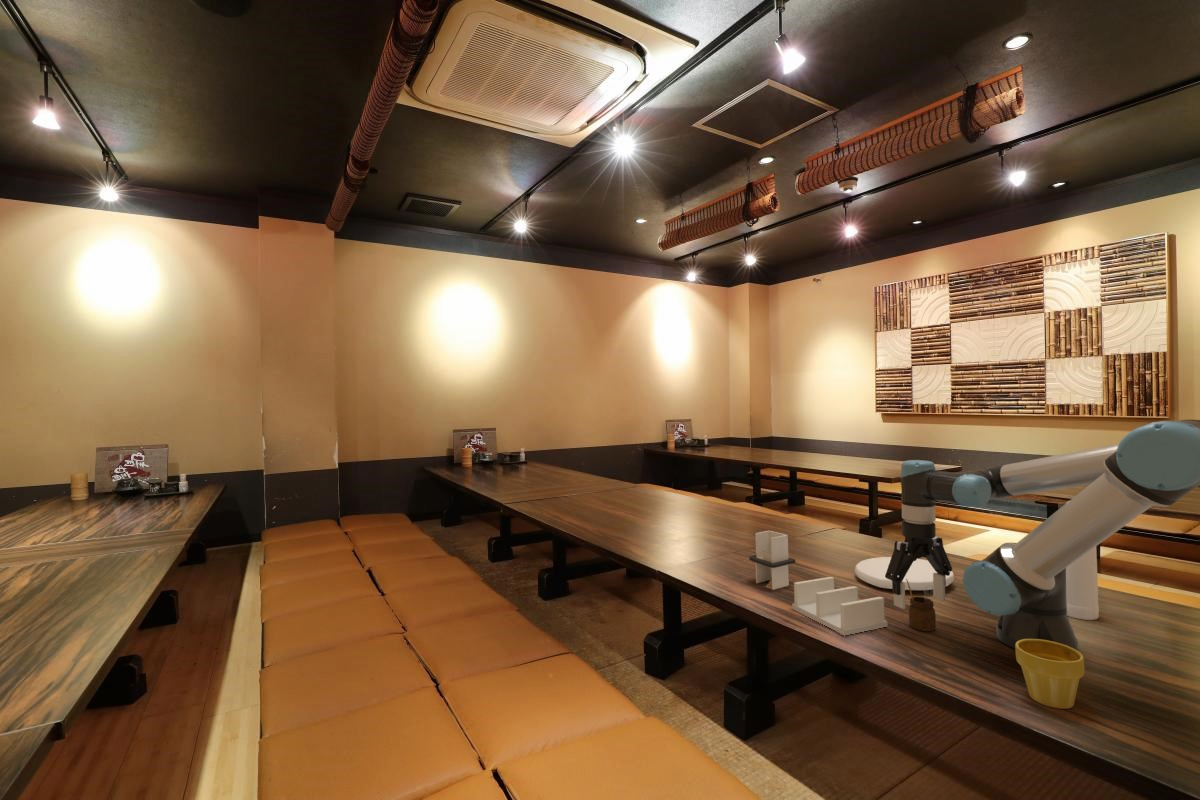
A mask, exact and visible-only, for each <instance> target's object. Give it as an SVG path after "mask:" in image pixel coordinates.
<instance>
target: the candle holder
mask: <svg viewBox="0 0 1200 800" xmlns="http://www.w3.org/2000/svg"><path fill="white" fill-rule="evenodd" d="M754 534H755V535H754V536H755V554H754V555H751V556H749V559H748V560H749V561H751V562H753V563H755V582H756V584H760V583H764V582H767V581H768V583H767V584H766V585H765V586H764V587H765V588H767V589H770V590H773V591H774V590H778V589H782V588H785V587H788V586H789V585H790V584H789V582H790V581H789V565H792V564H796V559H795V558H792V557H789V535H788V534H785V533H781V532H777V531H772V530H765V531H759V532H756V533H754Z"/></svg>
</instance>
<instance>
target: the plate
mask: <svg viewBox="0 0 1200 800" xmlns="http://www.w3.org/2000/svg"><path fill="white" fill-rule="evenodd" d="M891 557H892V556H880V557H872V558H867V559H863V560H861V561H859V562H858V563H857V564H856V565H855V567H854V574H855V575H856V577H857V578H858V579H860V580H862V581H863V582H865V583H867V584H870V585H872V586H875V587H878V588H883V589H890V590H892V580H889V579H887V578H885V575H886V572H887V569H888V566H889V563H890V560H891ZM948 572H950V571H948ZM933 573H937V572H936V571H935V570H934V568H933V567H932V566H931V564H930V563H929V561H928V560H927V559H922V558H917V559H916V561H913V563H912V565H911V566H910V568H909V570H908V572H907V574H906V575H905V577H904V579H903V581H902V582H904V583H905V591H909V587H908V584H907V580H908V583H909V586H910V589H911V591H928V590H930V591H932V590H933ZM891 575H892V574H891ZM898 577H899V576H898ZM906 579H907V580H906ZM954 579H955V576H954V572H953V570H952V571H951V572H950V575H949V576H947V575H946V580H945V581H946V585H945V587H948V586H949V585H951V584H952V583H953V582H954ZM927 585H928V586H930V585H931V586H930V587H928V586H927ZM925 588H926V589H925ZM924 589H925V590H924Z"/></svg>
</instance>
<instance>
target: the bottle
mask: <svg viewBox="0 0 1200 800" xmlns="http://www.w3.org/2000/svg"><path fill="white" fill-rule="evenodd" d="M1069 501H1070V500H1068V501H1066V502H1065V504H1066V503H1067V502H1069ZM1097 557H1098V556H1097V546H1096V547H1094V548H1093V549H1092V550H1090V551H1089V552H1087V553H1086V554H1085V555H1083V556H1082V557H1080V558H1079V559H1078V560H1076V561H1075V562H1073V563H1072V564H1071V565H1069V566H1068V567H1067V568H1066V597H1067V617H1069V618H1074V619H1077V620H1085V621H1095V620H1098V619H1099V617H1100V616H1099V615H1100V614H1099V613H1100V607H1099V591H1098V589H1099V588H1098V587H1099V585H1098V583H1099V582H1098V559H1097Z"/></svg>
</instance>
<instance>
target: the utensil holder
mask: <svg viewBox="0 0 1200 800" xmlns="http://www.w3.org/2000/svg"><path fill="white" fill-rule="evenodd" d="M906 580H907V579H906ZM907 584H908V587H909V590H908V591H909V593H910V596H911V597H910V600H909V604H910V605H909V607H908V623H909V625H910V627H911V628H912V627H913V629H914V628H915V629H914V630H917V631H920V630H922V631H921V632H934V631H935V630H936V625H937V624H936V623H937V621H936V611H935V608H934V605H935V604H934V601H933V599H934V598H933V595H934V594H935V593H934V594H933V589H934V588H933V589H932V590H931V591H930V593H929V594H930V596H929V595H926V596H927V597H925V596H913V592H912V590H911V589H910V586H909V583H908V580H907ZM927 586H928V585H927ZM930 586H931V585H930ZM930 586H928V587H930ZM925 589H926V588H925ZM925 589H924V590H923V591H925V593H928V592H929V590H925ZM928 596H929V598H928ZM931 597H932V598H931Z"/></svg>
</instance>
